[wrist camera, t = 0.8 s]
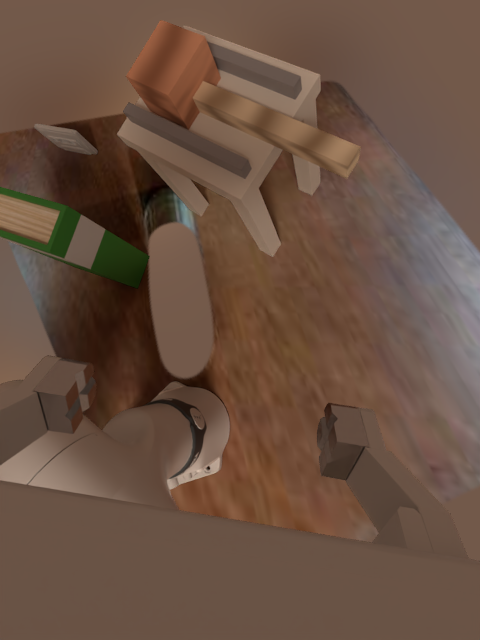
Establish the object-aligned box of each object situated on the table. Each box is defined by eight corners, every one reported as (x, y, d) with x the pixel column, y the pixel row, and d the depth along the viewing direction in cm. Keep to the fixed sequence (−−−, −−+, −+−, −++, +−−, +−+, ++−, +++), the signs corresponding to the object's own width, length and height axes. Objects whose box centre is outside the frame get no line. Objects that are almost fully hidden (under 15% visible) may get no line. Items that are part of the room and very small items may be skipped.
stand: (324, 181, 66) (319, 60, 40) (273, 260, 66) (236, 191, 40) (233, 138, 72) (178, 10, 46) (187, 211, 73) (107, 124, 47)
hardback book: (74, 266, 78) (-33, 224, 55) (85, 236, 79) (-16, 182, 56) (137, 288, 73) (49, 252, 50) (149, 256, 74) (67, 205, 51)
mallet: (372, 139, 39) (379, 100, 33) (333, 199, 39) (334, 170, 34) (181, 62, 47) (160, 20, 42) (150, 111, 48) (125, 76, 42)
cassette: (99, 149, 81) (76, 127, 74) (97, 156, 81) (73, 135, 74) (60, 142, 84) (35, 121, 77) (58, 149, 84) (32, 128, 77)
